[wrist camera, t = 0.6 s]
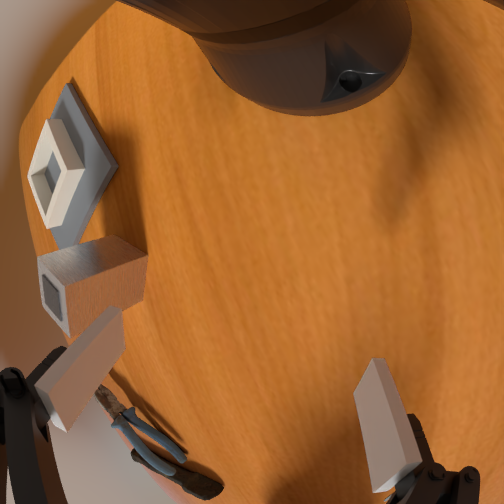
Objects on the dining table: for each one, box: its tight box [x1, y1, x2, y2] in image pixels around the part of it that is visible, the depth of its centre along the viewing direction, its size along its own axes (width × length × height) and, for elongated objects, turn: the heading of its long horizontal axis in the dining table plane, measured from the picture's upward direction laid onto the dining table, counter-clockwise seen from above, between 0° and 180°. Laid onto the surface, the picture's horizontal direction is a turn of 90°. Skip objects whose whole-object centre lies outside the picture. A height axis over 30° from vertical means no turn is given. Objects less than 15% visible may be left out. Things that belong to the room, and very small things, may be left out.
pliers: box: [93, 384, 187, 476], centre depth 35 cm, size 20×2×6 cm, turn 53°
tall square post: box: [37, 234, 148, 339], centre depth 25 cm, size 6×6×10 cm
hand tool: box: [131, 448, 224, 500], centre depth 37 cm, size 19×4×5 cm, turn 94°
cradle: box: [27, 83, 118, 250], centre depth 30 cm, size 18×18×4 cm
